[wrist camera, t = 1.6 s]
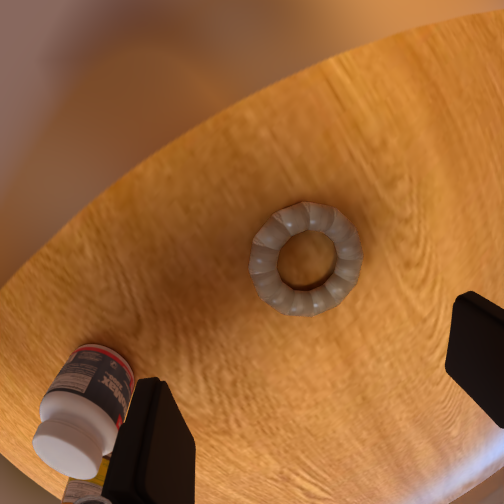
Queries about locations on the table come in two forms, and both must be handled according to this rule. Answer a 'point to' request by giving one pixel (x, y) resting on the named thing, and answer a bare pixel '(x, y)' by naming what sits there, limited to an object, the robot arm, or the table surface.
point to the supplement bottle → (86, 484)
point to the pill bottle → (84, 411)
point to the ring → (275, 238)
